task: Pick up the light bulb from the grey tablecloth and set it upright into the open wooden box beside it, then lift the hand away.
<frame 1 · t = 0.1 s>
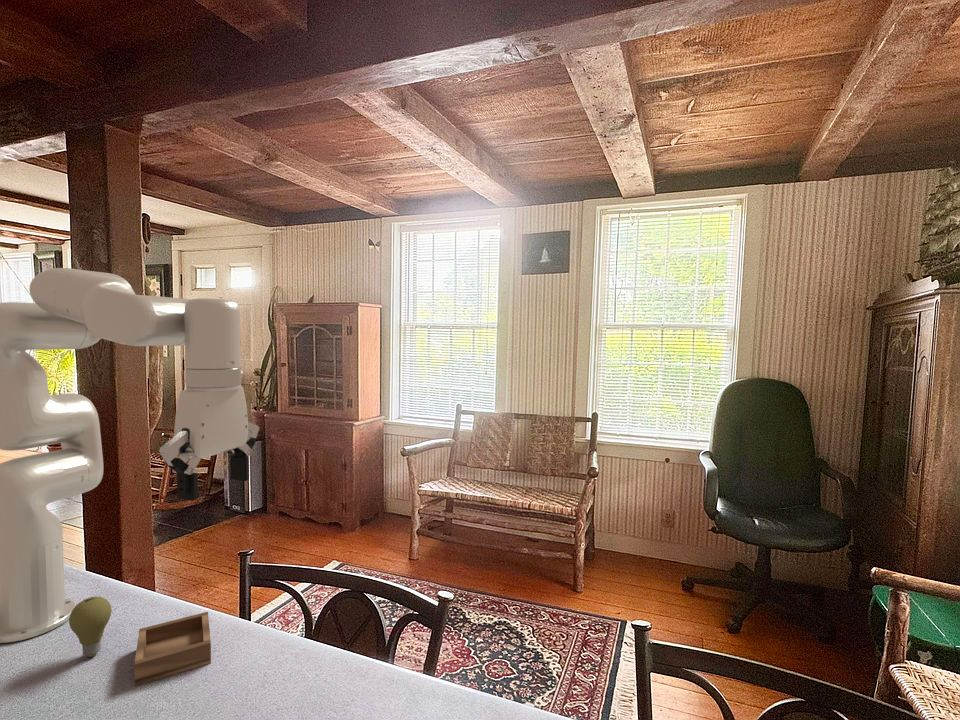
hand: (215, 488, 74), 31 cm above the table, tool pointing down, fingers open, 9 cm apart
light bulb: (91, 656, 81), on the table
open wooden box: (174, 655, 82), on the table
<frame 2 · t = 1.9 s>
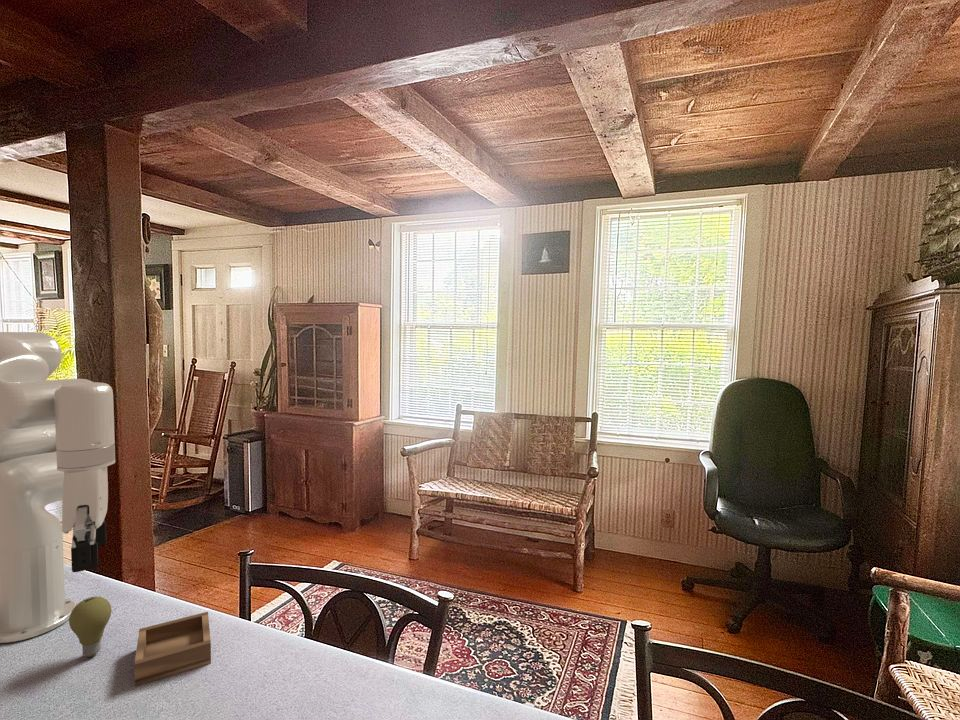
hand: (90, 557, 80), 17 cm above the table, tool pointing down, fingers open, 9 cm apart
nothing on the table moved.
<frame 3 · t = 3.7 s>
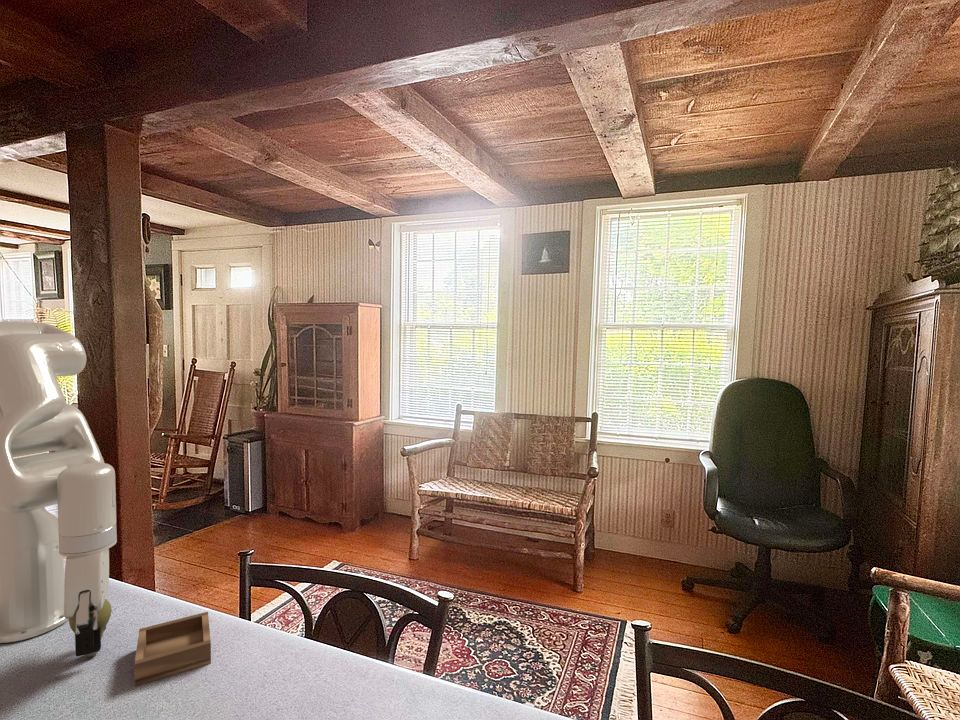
hand: (91, 641, 81), 2 cm above the table, tool pointing down, fingers closed on light bulb, 5 cm apart
light bulb: (91, 656, 81), on the table, touching gripper
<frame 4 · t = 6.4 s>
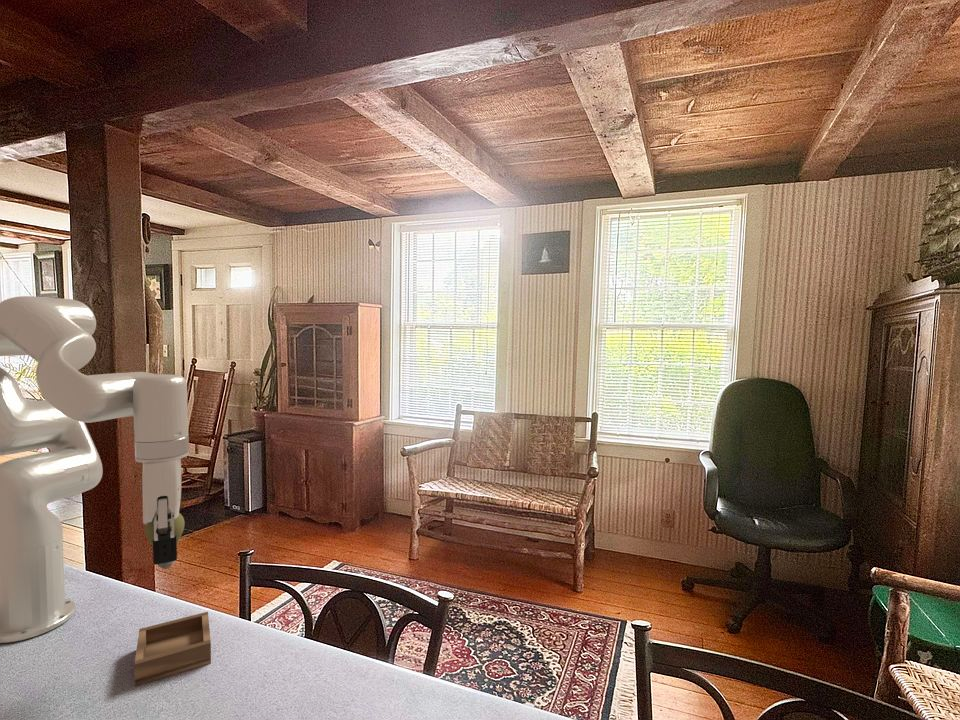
hand: (166, 553, 81), 18 cm above the table, tool pointing down, fingers closed on light bulb, 5 cm apart
light bulb: (166, 569, 81), point 15 cm above the table, touching gripper
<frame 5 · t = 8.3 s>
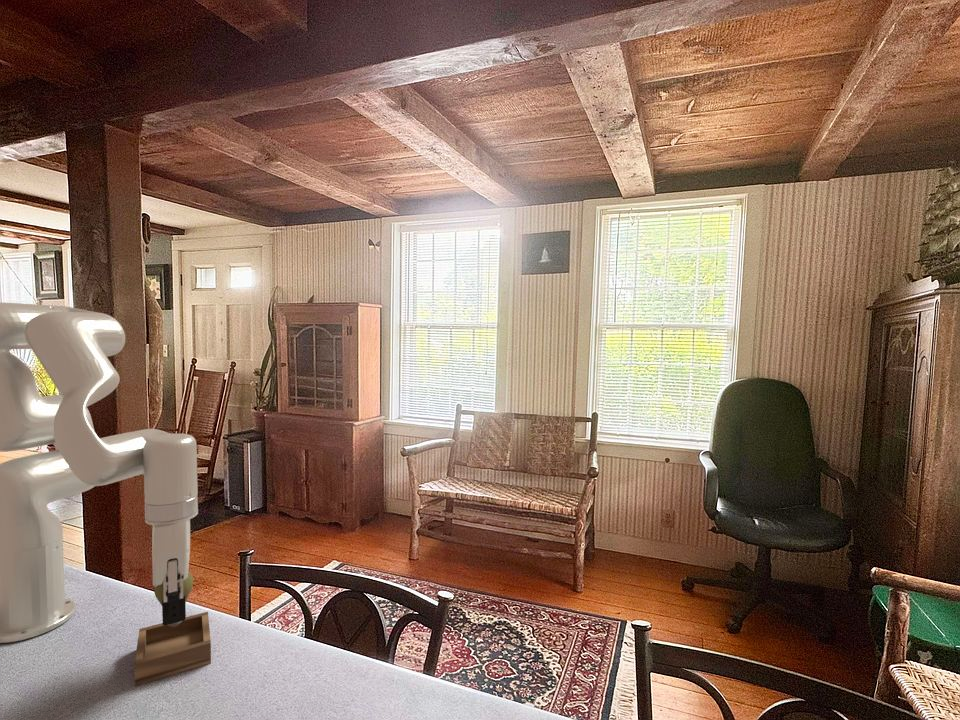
hand: (174, 611, 81), 8 cm above the table, tool pointing down, fingers closed on light bulb, 5 cm apart
light bulb: (174, 626, 82), point 5 cm above the table, touching gripper
when the fingers open (5 cm above the table, at t = 9.3 s): light bulb drops 1 cm, resting on open wooden box.
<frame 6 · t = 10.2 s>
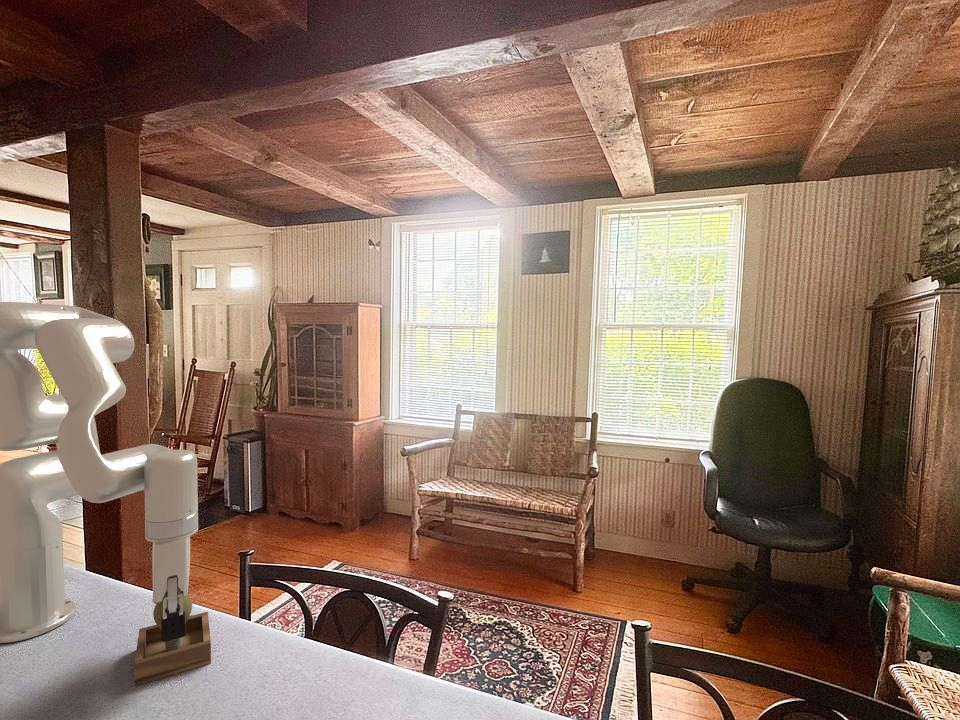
hand: (174, 622, 82), 6 cm above the table, tool pointing down, fingers open, 9 cm apart
light bulb: (173, 650, 82), point 1 cm above the table, touching open wooden box
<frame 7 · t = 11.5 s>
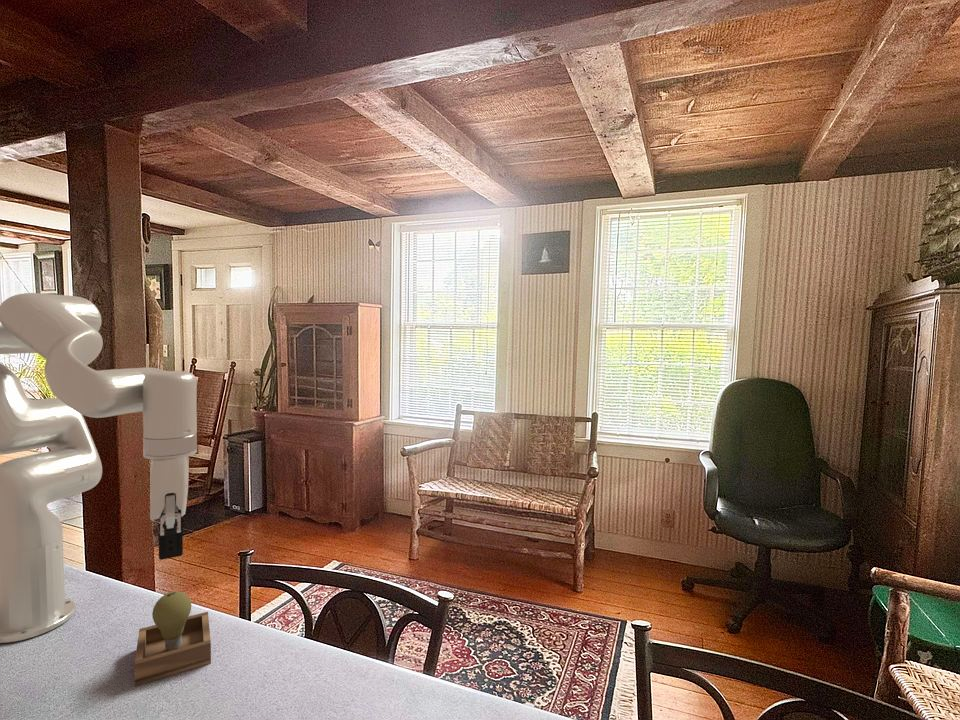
hand: (171, 545, 81), 19 cm above the table, tool pointing down, fingers open, 9 cm apart
nothing on the table moved.
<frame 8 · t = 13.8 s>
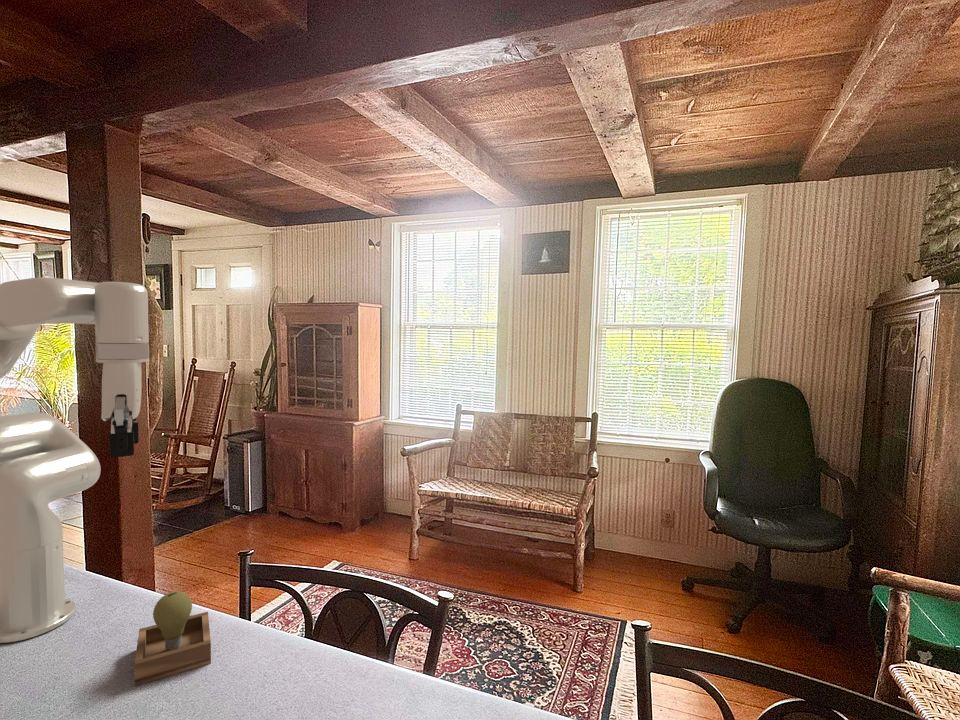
hand: (125, 449, 85), 34 cm above the table, tool pointing down, fingers open, 9 cm apart
nothing on the table moved.
at the end: light bulb 0.1 cm off-centre on the open wooden box, point 0.8 cm above the open wooden box's base; light bulb tilted 0°; the gripper is holding nothing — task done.
